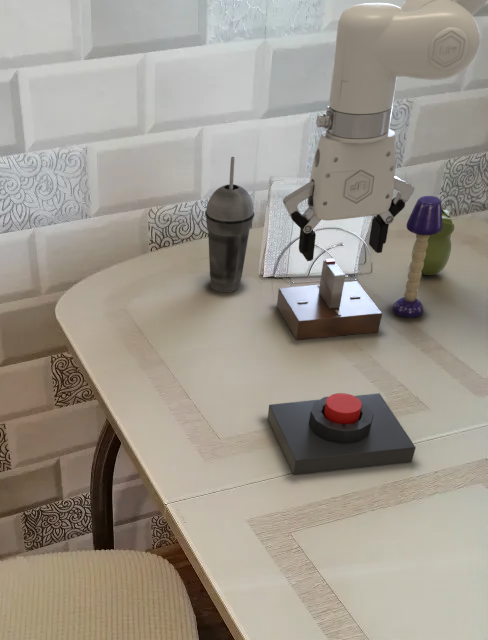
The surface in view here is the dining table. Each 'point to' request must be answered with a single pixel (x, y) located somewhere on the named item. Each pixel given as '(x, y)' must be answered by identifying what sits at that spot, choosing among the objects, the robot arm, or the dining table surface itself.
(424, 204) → the toy lamp
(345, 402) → the power button
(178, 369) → the dining table surface
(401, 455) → the device
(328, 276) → the grey upright block
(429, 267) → the pear
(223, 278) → the beverage cup
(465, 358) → the dining table surface
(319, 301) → the brown wooden base
